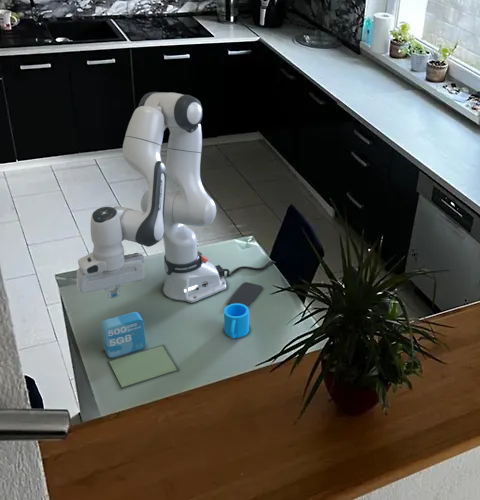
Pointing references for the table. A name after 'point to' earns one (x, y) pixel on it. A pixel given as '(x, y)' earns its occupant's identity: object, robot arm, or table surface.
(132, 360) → the mat
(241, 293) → the phone
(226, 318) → the mug
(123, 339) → the data package
